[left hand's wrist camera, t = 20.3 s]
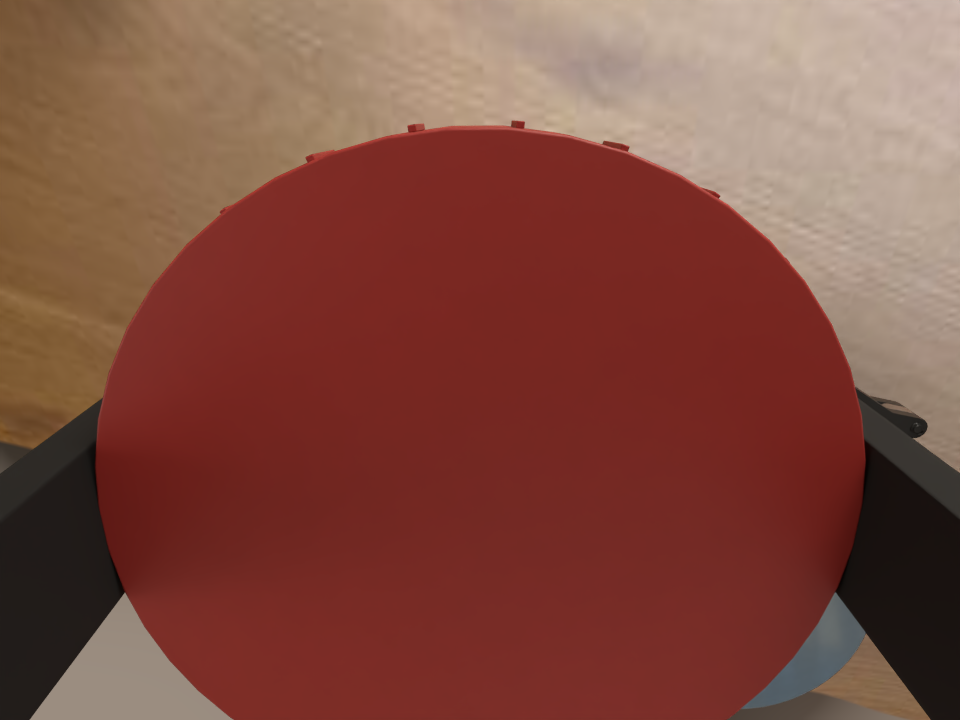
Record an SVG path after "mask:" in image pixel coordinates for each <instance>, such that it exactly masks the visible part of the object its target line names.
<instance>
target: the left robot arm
mask: <svg viewBox="0 0 960 720" xmlns="http://www.w3.org/2000/svg"><path fill="white" fill-rule="evenodd" d="M102 400H103V398H102V399H101V400H99V401H98V402H97V403H95V404H94V405H92V406H91V407H90V408H88V409H87V410H86V411H84V412H83V413H82V414H80V415H79V416H78V417H76V418H75V419H74V420H72V421H71V422H70V423H68V424H67V425H65V426H64V427H63V428H61V429H60V430H59V431H57V432H56V433H55V434H53V435H52V436H51V437H49V438H48V439H47V440H45V441H44V442H43V443H41V444H40V445H38V446H37V447H36V448H34V449H33V450H32V451H30V452H29V453H28V454H26V455H25V456H24V457H22V458H21V459H20V460H18V461H17V462H16V463H14V464H13V465H11V466H10V467H9V468H7V469H6V470H5V471H3V472H2V473H1V474H0V720H30V718H31V717H32V716H33V714H34V713H35V712H36V710H37V709H38V708H39V706H40V705H41V704H42V702H43V701H44V700H45V698H46V697H47V696H48V694H49V693H50V692H51V690H52V689H53V687H54V686H55V685H56V684H57V682H58V681H59V680H60V678H61V677H62V676H63V674H64V673H65V672H66V670H67V669H68V668H69V666H70V665H71V664H72V662H73V661H74V660H75V658H76V657H77V656H78V654H79V653H80V651H81V650H82V649H83V648H84V646H85V645H86V643H87V642H88V641H89V640H90V638H91V637H92V636H93V634H94V633H95V632H96V630H97V629H98V628H99V626H100V625H101V623H102V622H103V621H104V620H105V618H106V617H107V616H108V614H109V613H110V612H111V610H112V609H113V608H114V606H115V605H116V604H117V602H118V601H119V600H120V598H121V597H122V595H123V594H124V593H125V591H124V589H123V586H122V584H121V581H120V579H119V576H118V574H117V571H116V568H115V566H114V563H113V561H112V558H111V556H110V553H109V550H108V545H107V541H106V537H105V532H104V528H103V524H102V519H101V515H100V511H99V506H98V495H97V483H96V472H95V456H96V442H97V428H98V418H99V413H100V409H101V405H102ZM858 402H859V406H860V410H861V414H862V424H863V435H864V447H865V459H866V462H865V477H864V491H863V504H862V509H861V513H860V517H859V522H858V526H857V531H856V535H855V540H854V544H853V548H852V551H851V554H850V557H849V559H848V562H847V565H846V567H845V570H844V573H843V575H842V578H841V581H840V583H839V586H838V588H837V590H836V594H837V595H838V596H839V598H840V599H841V600H842V602H843V603H844V604H845V606H846V607H847V608H848V610H849V611H850V612H851V614H852V615H853V616H854V618H855V619H856V620H857V622H858V623H859V624H860V626H861V627H862V628H863V630H864V631H865V632H866V634H867V635H868V636H869V638H870V639H871V640H872V642H873V643H874V644H875V646H876V647H877V648H878V650H879V651H880V652H881V654H882V655H883V656H884V658H885V659H886V660H887V662H888V663H889V664H890V666H891V667H892V668H893V670H894V671H895V672H896V674H897V675H898V676H899V678H900V679H901V680H902V682H903V683H904V684H905V686H906V687H907V688H908V690H909V691H910V692H911V694H912V695H913V696H914V698H915V699H916V700H917V702H918V703H919V704H920V706H921V707H922V708H923V710H924V711H925V712H926V714H927V715H928V716H929V718H930V719H931V720H960V473H958V472H957V471H956V470H954V469H953V468H952V467H950V466H949V465H948V464H946V463H945V462H944V461H942V460H941V459H940V458H938V457H937V456H936V455H934V454H933V453H931V452H930V451H929V450H927V449H926V448H925V447H923V446H922V445H921V444H919V443H918V442H917V441H915V440H914V439H913V438H911V437H910V436H909V435H907V434H906V433H904V432H903V431H902V430H900V429H899V428H898V427H896V426H895V425H894V424H892V423H891V422H890V421H888V420H887V419H886V418H884V417H883V416H881V415H880V414H879V413H877V412H876V411H875V410H873V409H872V408H871V407H869V406H868V405H867V404H865V403H864V402H863V401H861V400H860V399H859V398H858Z"/></svg>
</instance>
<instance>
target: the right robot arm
mask: <svg viewBox="0 0 960 720" xmlns="http://www.w3.org/2000/svg"><path fill="white" fill-rule="evenodd" d="M855 390H856V394H857V398H859V399H860V400H861V401H863V402H864V403H865V404H867V405H868V406H869V407H871V408H872V409H873V410H875V411H876V412H877V413H879V414H880V415H881V416H883V417H884V418H886V419H887V420H888V421H890V422H891V423H892V424H894V425H895V426H896V427H898V428H899V429H900V430H902V431H903V432H904V433H906V434H907V435H909V436H910V437H911V438H917V437H920V436H922V435H923V434H924V433H925V432H926V430H927V423H926V421H925V420H923V419H922V418H920V417H919V416H917V415H916V414H914V413H913V412H912V411H910V410H909V409H907V408H906V407H904V406H903V405H901V404H900V403H898V402H895V401H891V400H886V399H881V398H876V397H871V396H868V395H867V394H865V393H864V392H862V391H861V390H859V389H858V388H856V387H855ZM958 473H959V472H958Z"/></svg>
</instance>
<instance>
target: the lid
mask: <svg viewBox="0 0 960 720" xmlns="http://www.w3.org/2000/svg"><path fill="white" fill-rule="evenodd" d="M524 125H525V122H524V121H512V124H511V127H510V126H449V127H442V128H435V129H428V130H425V127H424V124H414V125H408V133H401V134H396V135H390V136H385V137H382V138H379V139H375V140H372V141H368V142H365V143H362V144H358V145H355V146H351V147H348V148H345V149H341V150H338V151H334V150H330V151H326V152H321V153H316V154H312V155H309V156H307V157H306V160H307V162H308V163H306V164H304V165H302V166H299V167H297V168H295V169H293V170H291V171H289V172H286V173H284V174H282V175H280V176H278V177H275V178H274V179H272V180H271V181H269V182H268V183H266V184H265V185H263V186H261V187H260V188H258V189H257V190H255V191H254V192H252V193H251V194H249V195H247V196H246V197H244V198H243V199H241V200H240V201H238V202H237V203H235V204H234V205H231V206H228V207H225V208H224V209H222V210H221V211H220V213H221V215H219V216H218V217H217V218H216V219H215V220H214V221H213V222H212V223H210V224H209V225H208V226H207V227H206V228H205V229H204V230H202V231H201V232H200V233H199V234H198V235H197V236H196V237H195V238H193V239H192V240H191V241H190V242H189V243H188V244H187V245H186V246H185V247H184V248H183V249H182V251H181V252H180V253H179V254H178V255H177V257H176V258H175V259H174V260H173V261H172V263H171V264H170V265H169V266H168V267H167V268H166V270H165V271H164V272H163V273H162V274H161V276H160V277H159V278H158V279H157V280H156V282H155V283H154V284H153V285H152V287H151V289H150V290H149V292H148V294H147V295H146V297H145V299H144V300H143V302H142V304H141V305H140V307H139V309H138V310H137V312H136V314H135V315H134V317H133V319H132V320H131V322H130V324H129V325H128V327H127V329H126V332H125V334H124V336H123V339H122V341H121V344H120V346H119V349H118V351H117V354H116V356H115V359H114V361H113V364H112V366H111V369H110V371H109V374H108V379H107V383H106V387H105V392H104V396H103V400H102V405H101V409H100V413H99V418H98V428H97V442H96V456H95V472H96V483H97V495H98V506H99V511H100V515H101V519H102V524H103V528H104V532H105V537H106V541H107V545H108V550H109V553H110V556H111V558H112V561H113V563H114V566H115V568H116V571H117V574H118V576H119V579H120V581H121V584H122V586H123V589H124V591H125V593H126V595H127V596H128V598H129V600H130V602H131V604H132V605H133V607H134V609H135V611H136V612H137V614H138V616H139V618H140V620H141V621H142V623H143V625H144V627H145V628H146V630H147V631H148V632H149V634H150V635H151V636H152V638H153V639H154V640H155V642H156V643H157V644H158V646H159V647H160V648H161V650H162V651H163V652H164V654H165V655H166V656H167V658H168V659H169V661H170V662H171V663H172V664H173V665H174V666H175V667H176V668H177V669H178V670H179V671H180V672H181V673H182V674H183V675H184V676H185V677H186V678H187V679H188V681H189V682H190V683H191V684H192V685H193V686H194V687H195V688H196V689H197V690H198V691H199V692H200V693H202V694H203V695H204V696H205V697H206V698H208V699H209V700H210V701H211V702H212V703H214V704H215V705H216V706H217V707H218V708H220V709H221V710H222V711H223V712H224V713H226V714H227V715H228V716H229V717H230V718H232V719H234V720H727V719H728V718H730V717H731V716H733V715H734V714H735V713H737V712H738V711H739V710H740V709H741V708H742V707H744V706H745V705H746V704H747V703H748V702H749V701H751V700H752V699H753V698H754V697H755V696H756V695H758V694H759V693H760V692H761V691H762V690H764V689H765V688H766V687H767V686H768V685H769V683H770V682H771V681H772V680H773V679H774V678H775V677H776V676H777V675H778V674H779V673H780V672H781V671H782V669H783V668H784V667H785V666H786V665H787V664H788V663H789V662H790V661H791V660H792V659H793V658H794V656H795V655H796V654H797V652H798V651H799V649H800V648H801V647H802V645H803V644H804V642H805V641H806V640H807V638H808V637H809V636H810V634H811V633H812V631H813V630H814V629H815V627H816V626H817V625H818V623H819V621H820V619H821V617H822V616H823V614H824V612H825V610H826V608H827V606H828V605H829V603H830V601H831V599H832V597H833V595H834V593H835V592H836V590H837V588H838V586H839V583H840V581H841V578H842V575H843V573H844V570H845V567H846V565H847V562H848V559H849V557H850V554H851V551H852V548H853V544H854V540H855V535H856V531H857V526H858V522H859V517H860V513H861V509H862V504H863V491H864V477H865V462H866V459H865V447H864V435H863V424H862V414H861V410H860V406H859V402H858V398H857V394H856V390H855V386H854V381H853V377H852V373H851V369H850V367H849V364H848V362H847V359H846V357H845V355H844V352H843V350H842V348H841V345H840V343H839V341H838V338H837V336H836V333H835V331H834V329H833V326H832V324H831V322H830V321H829V319H828V317H827V316H826V314H825V313H824V311H823V309H822V308H821V306H820V305H819V303H818V301H817V300H816V298H815V297H814V295H813V293H812V292H811V290H810V288H809V287H808V285H807V284H806V282H805V281H804V279H803V278H802V277H801V276H800V275H799V274H798V272H797V271H796V270H795V269H794V268H793V267H792V265H791V264H790V262H789V261H788V260H787V259H786V258H785V257H784V256H783V255H782V254H781V253H780V252H779V250H778V249H777V248H776V247H775V246H774V245H773V243H772V242H771V241H770V240H769V239H768V238H766V237H765V236H764V235H763V234H762V233H761V232H759V231H758V230H757V229H756V228H755V227H754V226H752V225H751V224H750V223H749V222H748V221H747V220H745V219H744V218H743V217H742V216H741V215H740V214H738V213H737V212H736V211H735V210H734V209H733V208H731V207H730V206H729V205H728V204H726V203H724V202H723V201H721V200H720V199H719V197H720V195H719V194H717V193H716V192H714V191H711V190H708V189H704V188H701V187H699V186H697V185H696V184H694V183H692V182H691V181H689V180H688V179H686V178H684V177H683V176H681V175H679V174H677V173H675V172H673V171H670V170H668V169H666V168H663V167H661V166H659V165H657V164H654V163H652V162H650V161H648V160H645V159H643V158H641V157H638V156H636V155H634V154H632V153H629V152H628V150H629V146H627V145H624V144H620V143H614V142H609V141H604V142H603V144H599V143H595V142H592V141H588V140H584V139H581V138H577V137H574V136H570V135H565V134H560V133H555V132H548V131H540V130H532V129H525V128H524Z"/></svg>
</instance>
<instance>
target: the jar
mask: <svg viewBox="0 0 960 720" xmlns="http://www.w3.org/2000/svg"><path fill="white" fill-rule="evenodd" d="M865 634H866V632H865V631H864V630H863V628H862V627H861V626H860V624H859V623H858V622H857V620H856V619H855V618H854V616H853V615H852V614H851V612H850V611H849V610H848V608H847V607H846V606H845V604H844V603H843V602H842V600H841V599H840V598H839V596H838V595H837V594H836V592H835V593H834V595H833V597H832V599H831V601H830V603H829V605H828V606H827V608H826V610H825V612H824V614H823V616H822V617H821V619H820V621H819V623H818V625H817V626H816V627H815V629H814V630H813V631H812V633H811V634H810V636H809V637H808V638H807V640H806V641H805V642H804V644H803V645H802V647H801V648H800V649H799V651H798V652H797V654H796V655H795V656H794V658H793V659H792V660H791V661H790V662H789V663H788V664H787V665H786V666H785V667H784V668H783V669H782V671H781V672H780V673H779V674H778V675H777V676H776V677H775V678H774V679H773V680H772V681H771V682H770V683H769V685H768V686H767V687H766V688H765V689H764V690H762V691H761V692H760V693H759V694H758V695H756V696H755V697H754V698H753V699H752V700H751V701H749V702H748V703H747V704H746V705H745V706H744V707H742V708H741V709H751V708H760V707H765V706H770V705H775V704H779V703H782V702H785V701H788V700H791V699H794V698H796V697H799V696H801V695H803V694H805V693H807V692H809V691H811V690H813V689H815V688H817V687H818V686H820V685H821V684H823V683H824V682H825V681H827V680H828V679H830V678H831V677H832V676H833V675H834V674H836V673H837V672H838V671H839V670H840V669H841V668H842V667H843V666H844V665H845V664H846V663H847V662H848V661H849V660H850V659H851V657H852V656H853V655H854V653H855V652H856V650H857V649H858V647H859V646H860V644H861V642H862V640H863V639H864V637H865Z"/></svg>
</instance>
